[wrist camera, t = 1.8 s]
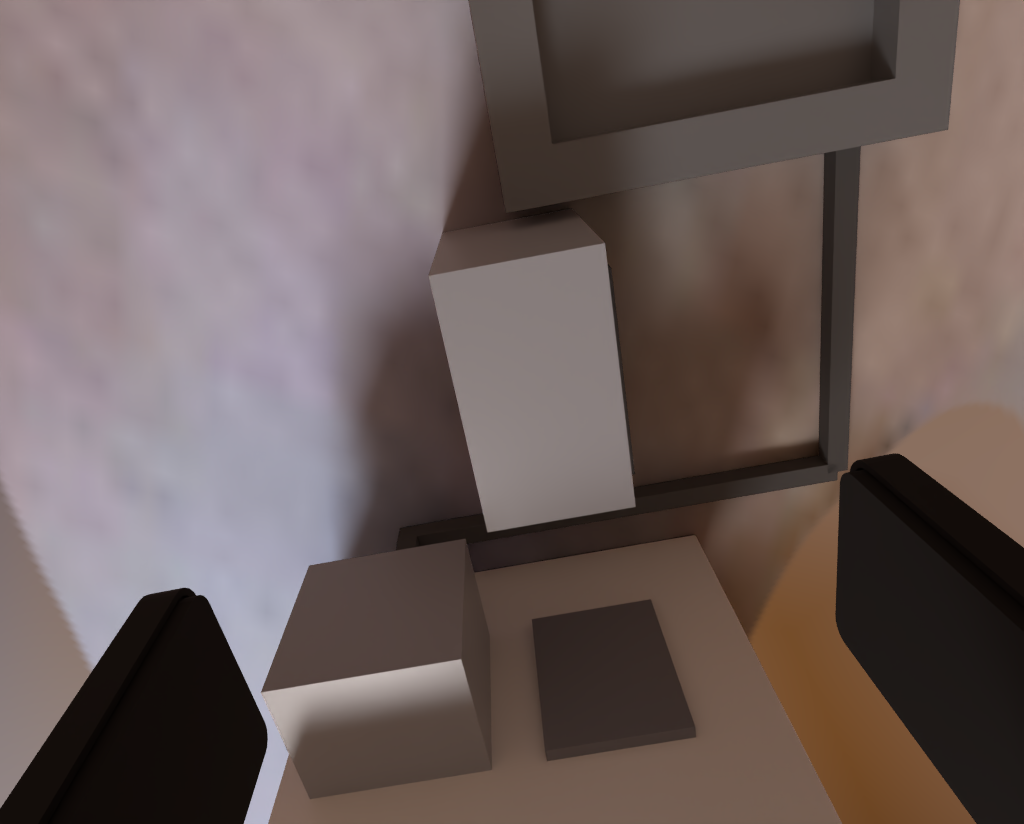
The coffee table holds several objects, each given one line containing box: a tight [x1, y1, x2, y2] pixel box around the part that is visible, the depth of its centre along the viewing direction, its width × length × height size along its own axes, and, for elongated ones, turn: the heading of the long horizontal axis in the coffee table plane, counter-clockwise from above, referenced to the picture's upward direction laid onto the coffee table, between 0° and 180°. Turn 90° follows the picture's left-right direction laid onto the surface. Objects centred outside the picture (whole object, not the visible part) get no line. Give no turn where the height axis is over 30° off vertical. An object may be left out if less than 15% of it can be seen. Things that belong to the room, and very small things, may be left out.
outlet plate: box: [261, 535, 842, 824], centre depth 19 cm, size 14×6×12 cm, turn 100°
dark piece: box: [396, 146, 861, 551], centre depth 21 cm, size 16×11×4 cm
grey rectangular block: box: [429, 208, 636, 532], centre depth 19 cm, size 4×7×6 cm, turn 10°
